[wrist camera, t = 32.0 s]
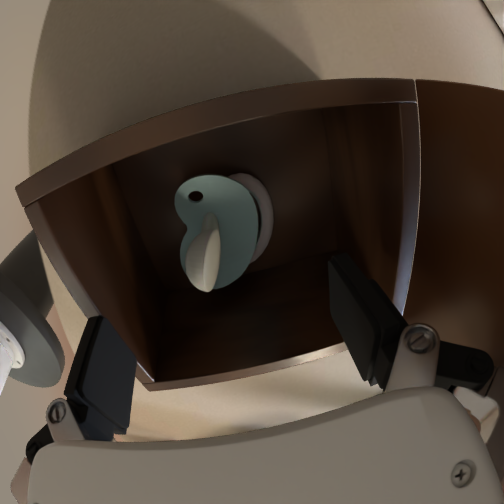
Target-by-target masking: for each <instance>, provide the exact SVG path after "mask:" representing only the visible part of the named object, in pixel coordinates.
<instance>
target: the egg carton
mask: <svg viewBox="0 0 504 504" xmlns="http://www.w3.org/2000/svg"><path fill="white" fill-rule="evenodd" d="M483 1H484V3H485V4H486V6H487V8H488V9H489V11H490V13H491V14H492V16H493V17H494V19H495V21H496V22H497V24H498V25H499V27H500V28H501V30H502V32H503V34H504V0H483Z"/></svg>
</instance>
